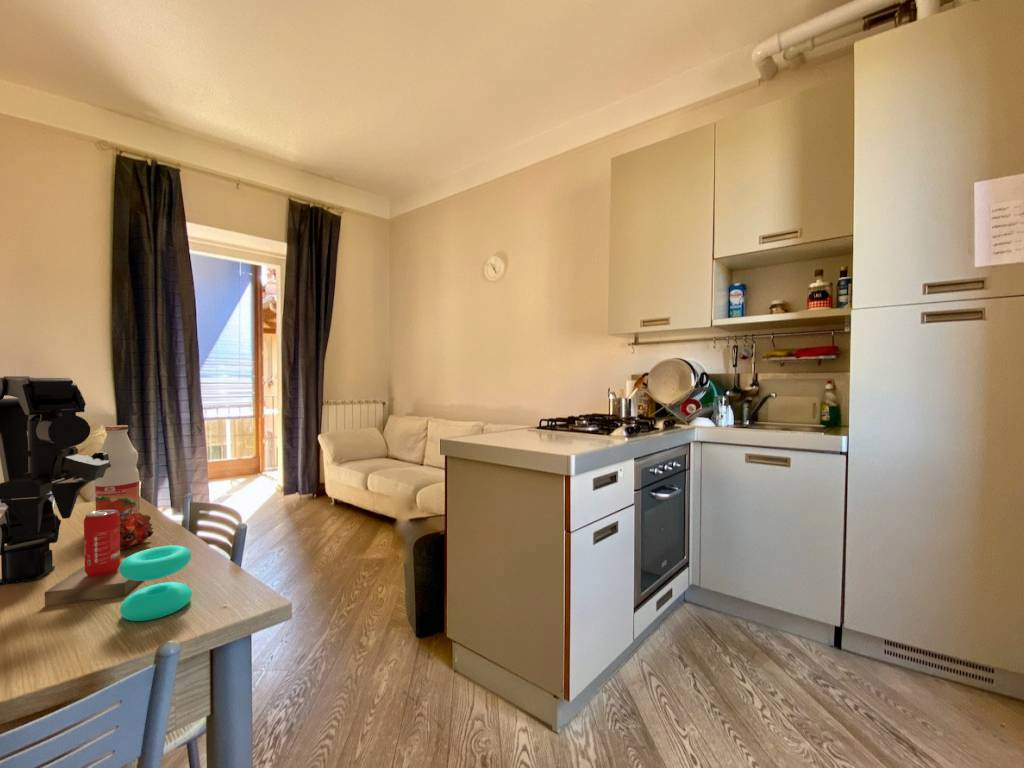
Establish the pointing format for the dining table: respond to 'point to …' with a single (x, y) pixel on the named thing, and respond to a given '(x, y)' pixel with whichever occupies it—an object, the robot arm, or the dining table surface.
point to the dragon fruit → (134, 529)
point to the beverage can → (101, 543)
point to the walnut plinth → (89, 588)
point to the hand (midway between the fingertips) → (51, 525)
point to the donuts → (157, 596)
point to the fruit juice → (119, 474)
